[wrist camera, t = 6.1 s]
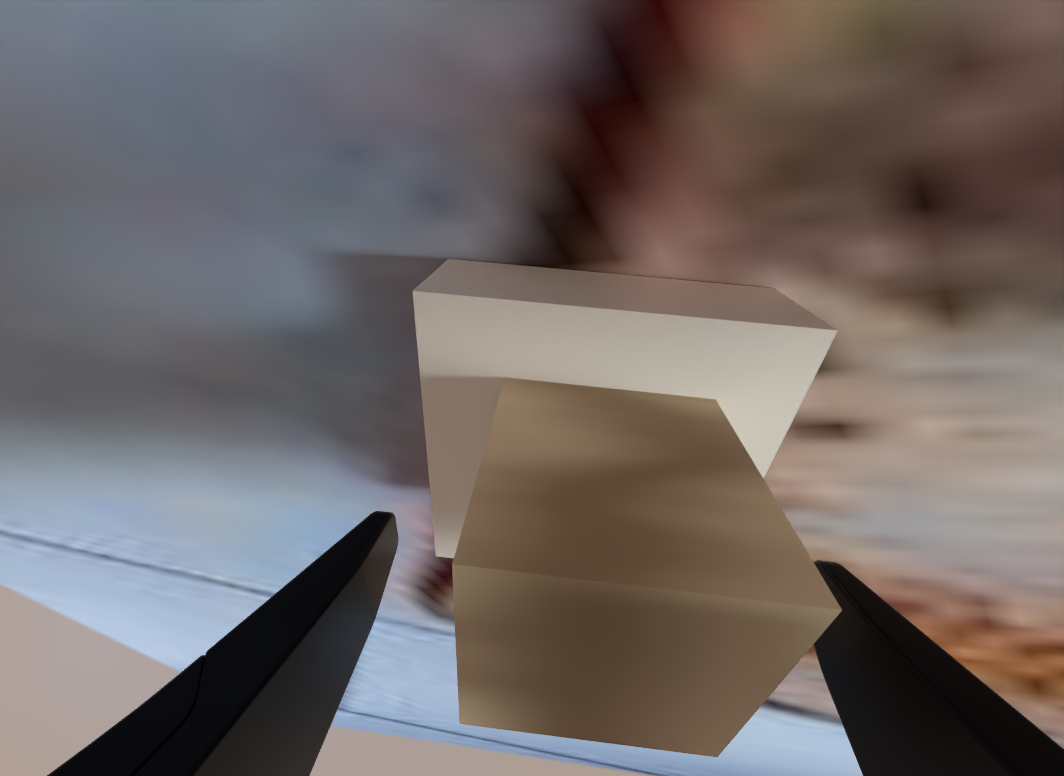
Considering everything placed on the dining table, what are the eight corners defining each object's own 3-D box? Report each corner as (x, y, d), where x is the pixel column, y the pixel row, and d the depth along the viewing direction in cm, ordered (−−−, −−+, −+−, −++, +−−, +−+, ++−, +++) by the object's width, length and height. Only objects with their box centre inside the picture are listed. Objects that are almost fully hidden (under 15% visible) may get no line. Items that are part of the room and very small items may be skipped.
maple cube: (715, 399, 9) (842, 609, 5) (663, 539, 12) (717, 756, 8) (504, 377, 9) (452, 563, 5) (498, 520, 12) (459, 723, 8)
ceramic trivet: (773, 288, 11) (837, 330, 8) (685, 514, 15) (708, 587, 13) (448, 258, 11) (412, 291, 9) (457, 490, 16) (435, 556, 13)
